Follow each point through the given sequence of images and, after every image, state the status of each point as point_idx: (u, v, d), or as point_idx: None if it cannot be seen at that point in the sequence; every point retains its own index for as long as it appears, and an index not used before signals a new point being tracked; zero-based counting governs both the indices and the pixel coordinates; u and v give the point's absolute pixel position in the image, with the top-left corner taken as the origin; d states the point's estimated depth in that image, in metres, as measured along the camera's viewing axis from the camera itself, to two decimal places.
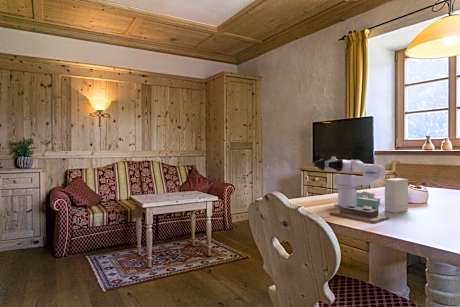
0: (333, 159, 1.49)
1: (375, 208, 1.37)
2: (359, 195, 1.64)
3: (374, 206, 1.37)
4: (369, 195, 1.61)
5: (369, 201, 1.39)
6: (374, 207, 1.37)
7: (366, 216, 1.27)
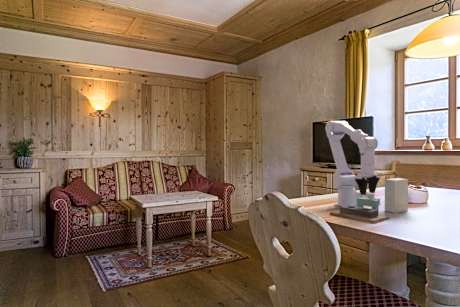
0: None
1: (375, 208, 1.37)
2: (359, 195, 1.64)
3: (374, 206, 1.37)
4: (369, 195, 1.61)
5: (369, 201, 1.39)
6: (374, 207, 1.37)
7: (366, 216, 1.27)
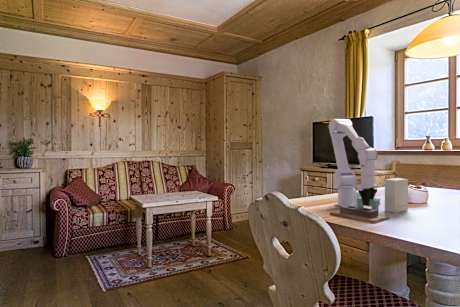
0: (373, 187, 1.39)
1: (375, 208, 1.37)
2: (359, 195, 1.64)
3: (374, 206, 1.37)
4: None
5: (369, 201, 1.39)
6: (374, 207, 1.37)
7: (366, 216, 1.27)
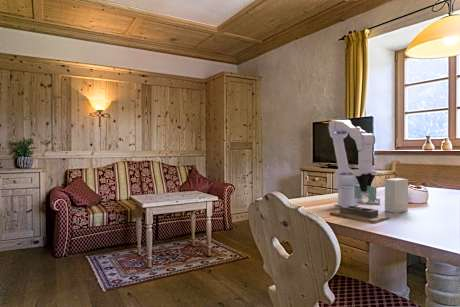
0: None
1: (373, 195, 1.34)
2: None
3: (372, 193, 1.35)
4: None
5: (367, 188, 1.36)
6: (372, 194, 1.35)
7: (366, 216, 1.27)
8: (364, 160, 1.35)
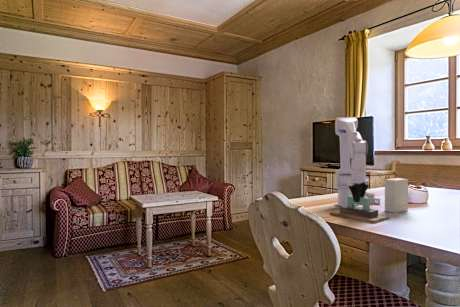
0: (364, 182, 1.30)
1: (366, 207, 1.29)
2: None
3: (365, 204, 1.29)
4: (369, 195, 1.61)
5: (360, 199, 1.30)
6: (365, 206, 1.29)
7: (366, 216, 1.27)
8: (357, 169, 1.30)
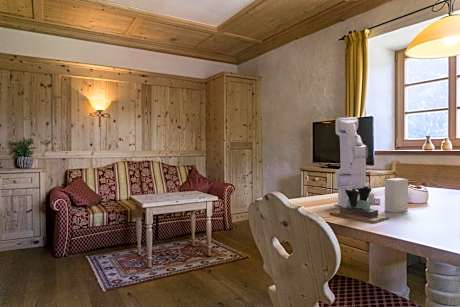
0: (364, 186, 1.30)
1: (366, 210, 1.29)
2: None
3: (365, 208, 1.29)
4: (369, 195, 1.61)
5: (360, 202, 1.31)
6: (365, 209, 1.29)
7: (366, 216, 1.27)
8: (357, 174, 1.30)
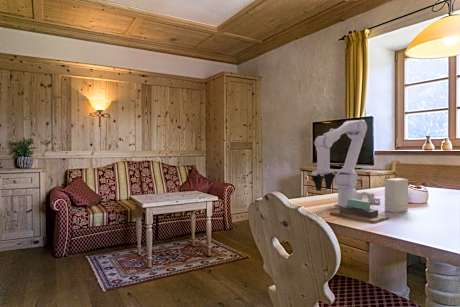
0: (328, 172, 1.45)
1: (366, 210, 1.29)
2: (359, 195, 1.64)
3: (365, 208, 1.29)
4: (369, 195, 1.61)
5: (360, 202, 1.31)
6: (365, 209, 1.29)
7: (366, 216, 1.27)
8: (322, 161, 1.45)
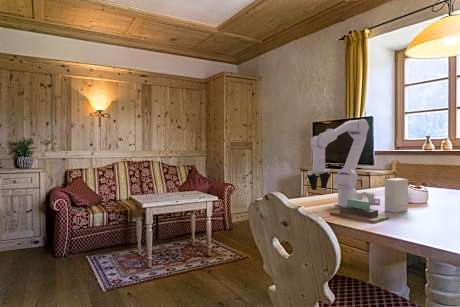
0: (323, 171, 1.48)
1: (366, 210, 1.29)
2: (359, 195, 1.64)
3: (365, 208, 1.29)
4: (369, 195, 1.61)
5: (360, 202, 1.31)
6: (365, 209, 1.29)
7: (366, 216, 1.27)
8: (317, 160, 1.47)
